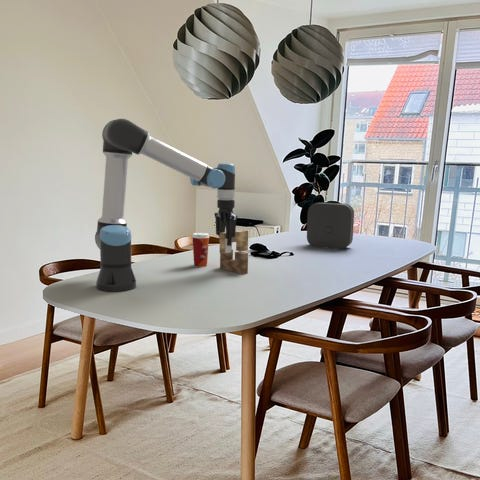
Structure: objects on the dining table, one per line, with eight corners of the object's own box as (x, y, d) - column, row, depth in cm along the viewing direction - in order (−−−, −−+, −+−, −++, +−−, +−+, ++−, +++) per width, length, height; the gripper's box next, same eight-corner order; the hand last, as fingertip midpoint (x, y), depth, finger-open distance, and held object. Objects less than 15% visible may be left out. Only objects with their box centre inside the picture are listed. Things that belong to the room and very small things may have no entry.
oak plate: (223, 253, 235) (224, 233, 234) (219, 252, 238) (219, 232, 236) (247, 250, 244) (248, 230, 243) (243, 249, 247) (243, 230, 245)
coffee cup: (206, 267, 247) (207, 235, 244) (189, 266, 248) (189, 234, 246) (211, 264, 255) (211, 232, 252) (194, 263, 256) (194, 232, 254)
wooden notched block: (247, 273, 237) (248, 253, 236) (242, 274, 236) (242, 253, 234) (225, 266, 249) (225, 247, 248) (220, 267, 248) (220, 248, 246)
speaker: (352, 247, 306) (354, 204, 302) (349, 250, 298) (351, 205, 294) (309, 244, 315) (311, 201, 311) (305, 246, 308) (307, 202, 303)
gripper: (244, 200, 230) (243, 254, 234) (221, 197, 242) (220, 248, 246) (231, 201, 225) (230, 255, 229) (208, 198, 238) (207, 250, 241)
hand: (225, 251), depth 238 cm, fingers closed on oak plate, 3 cm apart
